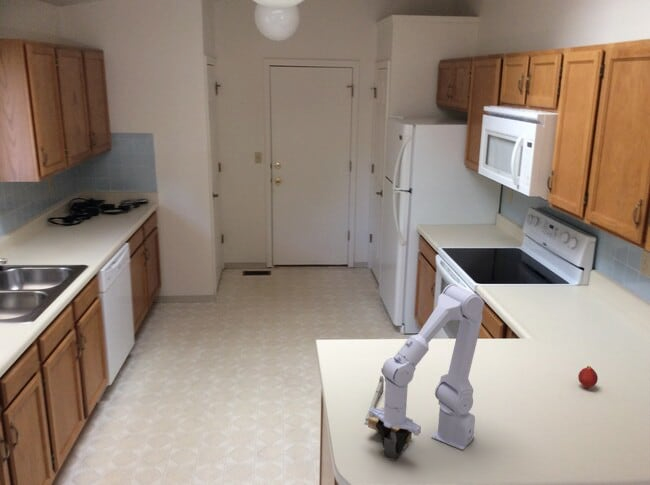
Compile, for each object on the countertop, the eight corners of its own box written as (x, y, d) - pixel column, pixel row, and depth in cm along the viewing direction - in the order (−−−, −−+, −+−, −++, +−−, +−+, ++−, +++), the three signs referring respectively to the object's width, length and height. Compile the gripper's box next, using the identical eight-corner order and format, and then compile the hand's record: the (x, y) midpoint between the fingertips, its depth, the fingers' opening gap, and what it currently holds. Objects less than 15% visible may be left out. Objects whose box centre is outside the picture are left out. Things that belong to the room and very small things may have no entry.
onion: (581, 381, 195) (584, 360, 193) (598, 388, 191) (602, 365, 189) (574, 387, 191) (577, 365, 189) (591, 394, 187) (595, 371, 185)
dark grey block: (394, 460, 152) (396, 442, 150) (383, 455, 154) (384, 437, 152) (409, 446, 158) (411, 428, 157) (398, 442, 160) (399, 424, 159)
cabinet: (411, 439, 161) (412, 419, 160) (398, 451, 156) (399, 431, 154) (380, 426, 167) (381, 407, 166) (367, 437, 162) (368, 418, 160)
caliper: (380, 391, 187) (380, 373, 185) (383, 391, 187) (384, 374, 185) (364, 425, 168) (365, 405, 167) (368, 425, 168) (368, 406, 166)
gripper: (363, 400, 151) (361, 445, 155) (412, 419, 143) (409, 466, 146) (378, 389, 157) (376, 433, 160) (426, 407, 148) (422, 453, 152)
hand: (392, 448), depth 154 cm, fingers closed on dark grey block, 3 cm apart
